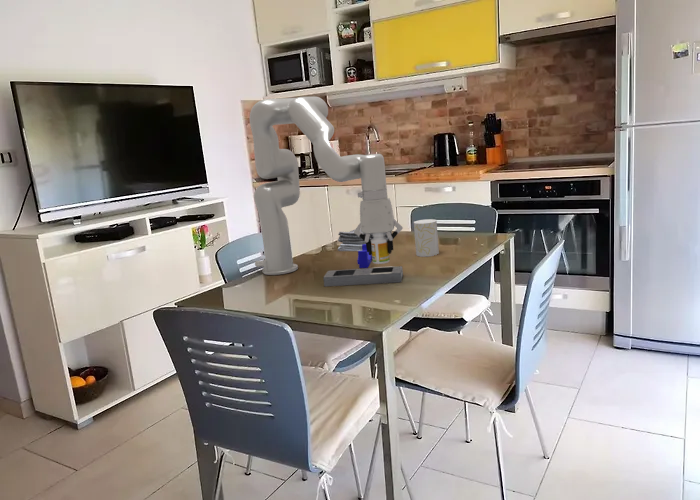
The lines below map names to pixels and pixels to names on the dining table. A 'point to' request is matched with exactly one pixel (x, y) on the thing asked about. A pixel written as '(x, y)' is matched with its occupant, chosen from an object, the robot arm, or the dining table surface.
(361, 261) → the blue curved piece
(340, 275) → the metal bottle holder tray
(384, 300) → the dining table surface
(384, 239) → the supplement bottle
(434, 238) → the cup
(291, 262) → the robot arm
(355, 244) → the towel
